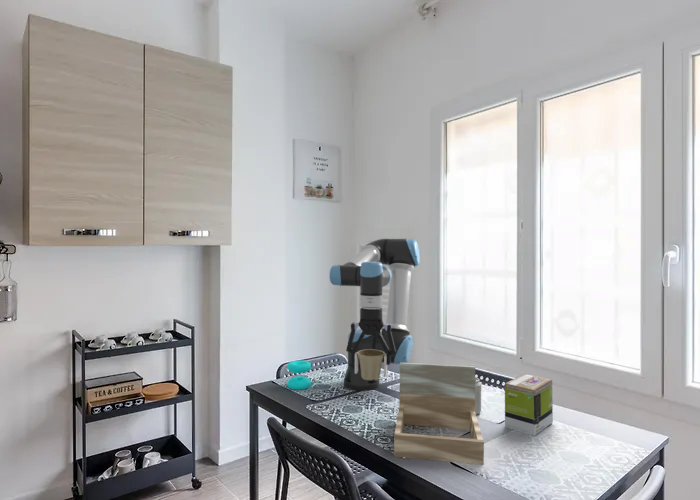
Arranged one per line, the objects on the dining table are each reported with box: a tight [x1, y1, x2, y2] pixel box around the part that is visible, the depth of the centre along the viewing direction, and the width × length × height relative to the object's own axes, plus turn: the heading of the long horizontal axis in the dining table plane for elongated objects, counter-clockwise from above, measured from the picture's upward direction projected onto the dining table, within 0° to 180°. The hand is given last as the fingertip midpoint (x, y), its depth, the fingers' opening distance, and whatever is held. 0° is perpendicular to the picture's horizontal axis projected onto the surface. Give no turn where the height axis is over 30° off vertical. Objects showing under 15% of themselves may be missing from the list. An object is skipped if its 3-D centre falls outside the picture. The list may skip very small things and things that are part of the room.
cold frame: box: [393, 362, 485, 465], centre depth 132 cm, size 24×24×20 cm
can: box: [475, 376, 482, 416], centre depth 156 cm, size 8×8×12 cm
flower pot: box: [357, 349, 385, 380], centre depth 150 cm, size 9×9×9 cm
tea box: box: [504, 373, 554, 436], centre depth 145 cm, size 15×10×15 cm, turn 134°
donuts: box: [286, 359, 312, 391], centre depth 182 cm, size 10×10×10 cm
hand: (370, 373), depth 150 cm, fingers closed on flower pot, 9 cm apart
